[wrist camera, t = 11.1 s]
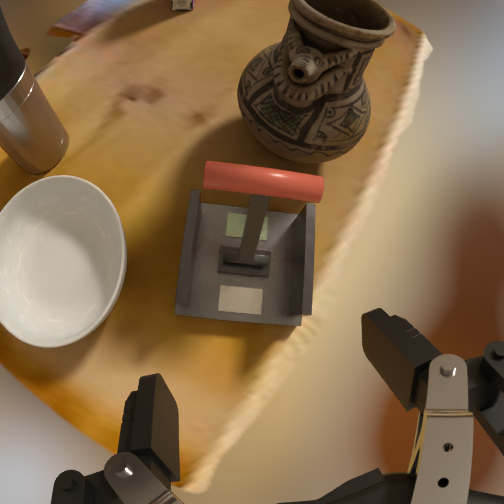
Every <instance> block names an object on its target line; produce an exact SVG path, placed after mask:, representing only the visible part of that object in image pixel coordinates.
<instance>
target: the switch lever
mask: <svg viewBox="0 0 504 504" xmlns="http://www.w3.org/2000/svg"><path fill="white" fill-rule="evenodd" d="M203 188H205V189H214V190H223V191H232V192H240V193H248V194H251V195H250V200H249V205H248V210H247V215H246V220H245V225H244V230H243V235H242V240H241V246H240V251H239V252H230V251H224V257H223V262H232V263H241V264H251V265H260V266H268V260H269V256H266V255H257V254H255V253H256V249H257V245H258V242H259V238H260V234H261V230H262V226H263V223H264V219H265V215H266V211H267V207H268V204H269V200H270V196H272V197H279V198H286V199H293V200H300V201H307V202H313V203H319V202H320V200H321V198H322V195H323V189H324V181H323V177H322V176H316V175H310V174H304V173H298V172H292V171H285V170H278V169H272V168H265V167H257V166H250V165H242V164H234V163H225V162H216V161H206V164H205V170H204V178H203Z"/></svg>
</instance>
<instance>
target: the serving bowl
mask: <svg viewBox="0 0 504 504" xmlns="http://www.w3.org/2000/svg"><path fill="white" fill-rule="evenodd" d="M126 266H127V247H126V240H125V234H124V230H123V226H122V223H121V220H120V217H119V215H118V213H117V211H116V209H115V207H114V205H113V204H112V202H111V201H110V199H109V198H108V197H107V196H106V194H105V193H104V192H103V191H102V190H100V189H99V188H98V187H97V186H95V185H94V184H92V183H90V182H89V181H86V180H84V179H81V178H78V177H74V176H67V175H58V176H51V177H47V178H43V179H40V180H38V181H35V182H33V183H31V184H30V185H28V186H26V187H25V188H23V189H22V190H21V191H19V192H18V193H17V194H16V195H15V196H14V197H13V198H12V199H11V200H10V201H9V202H8V203H7V204H6V205H5V207H4V208H3V209H2V211H1V212H0V322H1V324H2V325H3V326H4V327H5V328H6V329H7V330H8V331H9V332H10V333H11V334H12V335H13V336H14V337H16V338H17V339H19V340H21V341H22V342H24V343H27V344H29V345H32V346H35V347H41V348H58V347H63V346H67V345H70V344H72V343H75V342H77V341H79V340H81V339H82V338H84V337H86V336H87V335H89V334H90V333H91V332H93V331H94V330H95V329H96V328H97V327H98V326H99V325H100V324H101V323H102V322H103V321H104V320H105V319H106V317H107V316H108V315H109V313H110V312H111V310H112V309H113V307H114V305H115V303H116V301H117V299H118V297H119V295H120V292H121V289H122V286H123V283H124V279H125V274H126Z"/></svg>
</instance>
